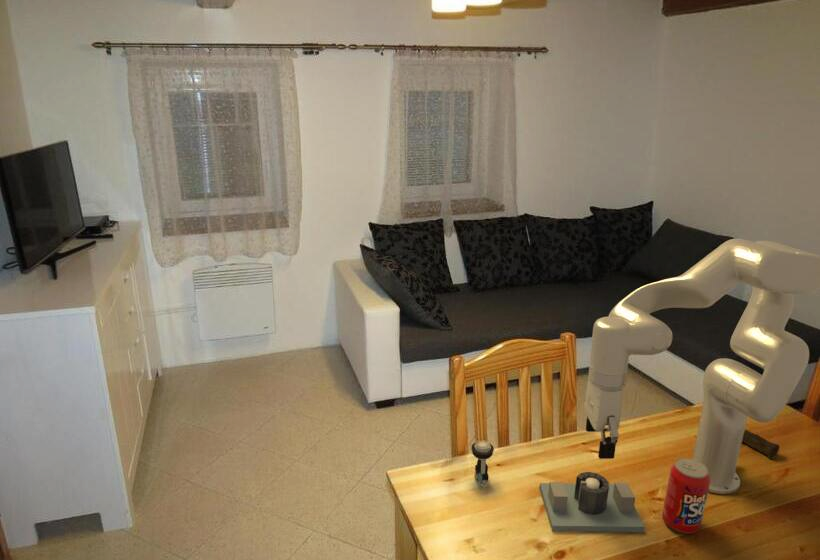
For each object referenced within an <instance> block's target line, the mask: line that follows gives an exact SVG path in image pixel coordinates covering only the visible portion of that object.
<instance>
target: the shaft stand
mask: <svg viewBox="0 0 820 560" xmlns="http://www.w3.org/2000/svg"><path fill="white" fill-rule="evenodd" d="M583 485H585V486H587V487H589V488H592V489H599V485H600V483H599V481H598V480H597V479H595V478H587V479H586V481H581V482H580V490H579V498H578V500H577V499H575V498H574V494H575V486H576V482H575V483H574V482H573V483H569V482H568V483H565V482H563V481H549V482H540V483H539V491H540V494H541V497H542V503H543V505H544V509H545V513H546V516H547V519H548V522H549V525H550V530H551V532H588V533H589V532H592V533H595V532H596V533H598V532H599V533H603V532H604V533H645V528H646V526H645V524H644V522H643V520H642V518H641V516H640V514H639V513H638V510H637V508H636V507H635V502H636V495H635V494H634V492H633V490H632V488H631V486H630V484H629V482H621V481H620V482H614V483H609V491H608V498H607V505H606V510H605V511H604V512H603V513H602V514H597V515H591V514H586V513H584V512H582V511H580V510H579V509H578V507H579V499H580V491H581V487H582V486H583Z"/></svg>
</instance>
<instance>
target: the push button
mask: <svg viewBox="0 0 820 560" xmlns="http://www.w3.org/2000/svg"><path fill="white" fill-rule="evenodd" d="M470 449H471V451H472V455H473V456H474V457H475V458H477V461H476V464H475V467H474V470H475V471H474V480H475V481H476V480H478V484H479V486H480V485H481V486H482V488H483V489H487V488H488V486H487V485H488V483H487V482H488V481H489V478H490V477H489V473H488V471H489V466H488V465H487V459H490V458H491V457H492V456H493V454H494V451H495V449H494V446H493V445H492V444H491V443H490V442H489V441H487V440H485V439H484V440H483V439H481V440H480V439H479V440H476V441H475V442H474V443H473V444H471V448H470Z"/></svg>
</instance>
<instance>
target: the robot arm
mask: <svg viewBox="0 0 820 560" xmlns="http://www.w3.org/2000/svg"><path fill="white" fill-rule="evenodd" d="M742 283H743V284H746V285H749V286H751V287H752V288H751V291H752V292H751V296H750V299H749V300H748V302H747V305H746V307H745V309H744V311H743V313H742V315H741V317H740V319H739V320H738V322H737V324H736V327H735V329H734V331H733V333H732V335H731V338H730V341H729V346H730V348H731V350H732V351H733V352H734V354H736V355H737V356H739V357H740V358H742V359H745V360H746V361H747V362H750V363H752V364H754V365H755V366H757V367H759V368H761V369H763V373H762V374H761V373H759V372H758V371H756V370H754V369H753V368H750V367H749V366H747V365H746V364H743V363H742V362H739V361H737V360H734V359H731V358H717V359H715V360H713V361H712V362H710V363H709V364H708V365H707V367H706V368H705V371H704V373H703V378H702V379H703V380H702V381H703V383H702V384H703V385H702V387H703V401H702V409H701V412H700V413H701V414H700V419H699V424H698V429H697V435H696V437H695V438H696V440H695V443H694V447H693V448H694V449H693V454H692V458H691V459H693V460H696V461H699V462H700V463H702V464H703V465H705V466H706V467H707V469H708V474H709V475H710V485H709V490H708V493H714V494H719V495H727V494H728V495H729V494H732V493H735V492H737V491H738V490H739V489H740V486H741V479H740V477H739V475H738V474H737V472H736V470H737V465H738V461H739V456H740V452H741V448H742V444H743V442H742V440H743V435H744V431H745V429H746V428H747V427H746V426H747V417H748V418H750V419H752V420H753V421H756V422H759V423H768V422H771V421H774V420H775V419H776V418H777V417H778V416H779V415H780V414H781V413H782V411H784V408H785V407H786V404H787V403H788V401H789V400H790V398H791V397H792V394H793V392H794V390H795V389H796V387H797V385H798V384H799V382H800V380H801V378H802V376H803V374H804V373H805V370H806V368H807V367H808V363H809V360H810V349H809V346H808V344H807V343H806V342H805V341H804V339H802V338H801V337H799V336H797V335H795V334H793V333H791V332H789V331H786V330H785V327H786V325H787V324H788V321H789V319H790V317H791V315H792V312H793V311H794V305H795V300H794V295H802V296H805V295H806V296H807V295H811V294H815V293H816V292H819V290H820V255H817V254H815V253H812V252H809V251H806V250H803V249H798V248H795V247H793V246H789V245H785V244H782V243H779V242H776V241H770V240H758V241H757V240H756V241H755V242H754V241H752V240H748V239H745V238H744V239H743V238H732V239H728V240H726V241H724V242H723V243H721V244H720V245H719V246H717V248H715V249H714V250H712V251H711V252H710V253H708V254H707V255H706V256H705V257H703V258H702V259H700V260H699V261H698V262H697V263H695V264H694V265H693V266H691V267H690V268H689V269H688V270H686V271H685V272H684V273H682V274H681V275H678V276H675V277H669V278H664V279H661V280H658V281H655V282H651V283H648V284H645V285H643V286H640V287H639V288H636V289H635V290H633V291H632V292H630V293H629V294H628V295H626V296H625V297H624V298H623V299H621V300H620V301H619V302H618V303H617V304H616V305H615V306H614V307H613V308H612V309H611V311H609V314H608V316H604V317H600V318H598V319H596V320H595V322H594V324H593V327H592V338H591V345H590V346H591V347H590V354H589V355H590V357H589V358H590V359H589V367H588V376H587V386H586V391H585V398H584V405H583V406H584V412H585V414H586V422H585V423H586V425H585V431H586V432H589V433H590V432H591V433H592V432H595V433H598V432H600V435H601V436H600V437H601V441H599V445H598V446H599V447H598V456H597V457H598V459H599V460H603V459H605V460H610V459H611V460H612V459H613V460H614V459H615V455H616V454H615V453H616V446H617V445H618V441H619V435H620V434H619V429H620V422H621V414H622V399H623V397H622V396H623V395H622V394H623V392H622V391H623V388H624V387H625V386H626V383H627V381H626V380H627V373H628V367H629V358H630V356H632V355H634V356H654V355H655V356H656V355H658V354H661V353H663V352H665V351H666V350H668V349H669V347H670V346H671V344H672V341H673V332H672V330H671V328H670V327H669V326H668V325H667V324H666V323H665V322H663V321H662V320H660V319H658V318H656V317H654V316H652V315H651V313H654V312H657V311H660V310H663V309H669V308H670V309H671V308H675V309H676V308H678V309H679V308H682V309H704V308H705V309H706V308H709V307H711V306H713V305H714V304H715V303H716V302H718V301H720V299H722V297H723V296H725V295H726V294H728V293H729V292H730V291H732V290H733V289H734V288H736V287H737V286H738V285H739V284H742ZM606 427H608V428H606ZM606 433H609V436H607V437H606Z"/></svg>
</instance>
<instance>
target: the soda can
mask: <svg viewBox="0 0 820 560" xmlns="http://www.w3.org/2000/svg"><path fill="white" fill-rule="evenodd" d="M709 485H710V475H709V474H708V469H707V467H706V466H705V465H703V464H702V463H700V462H699V461H696V460H693V459H692V458H688V457H687V458H686V457H682V458H679V459H676V461H675V463H674V464H672V465H671V467H670V471H669V476H668V481H667V487H666V491H665V497H664V501H663V507H662V513H661V515H662V516H661V517H662V519H663V521H664V522H665V524H666V525H667V526H668V527H670V528H671V529H672V530H674V531H676V532H680V533H682V534H694V533H697V532H698V531H699V530H700V528H701V527H702V522H703V517H704V512H705V507H706V503H707V499H708V494H709V491H708V490H709Z"/></svg>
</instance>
